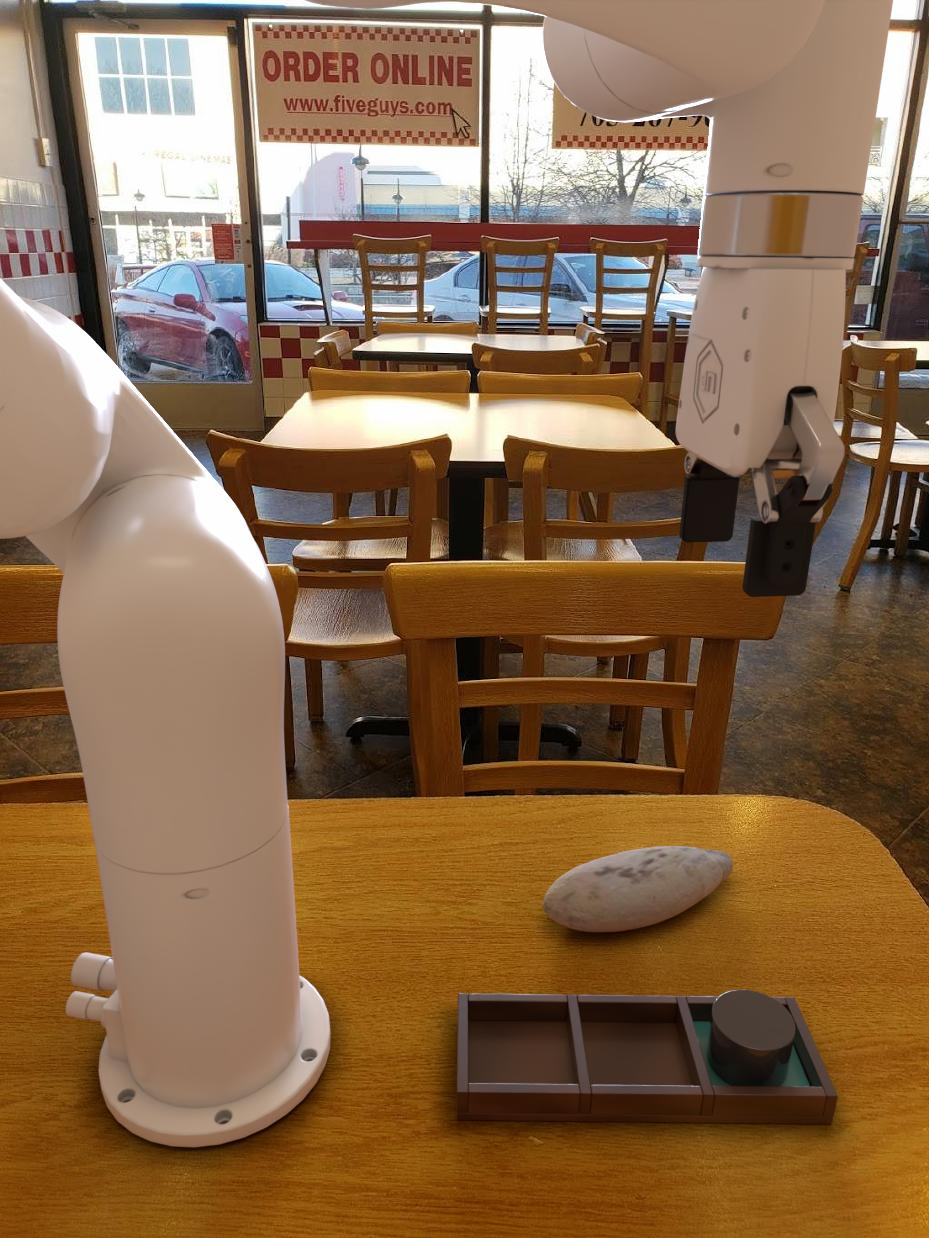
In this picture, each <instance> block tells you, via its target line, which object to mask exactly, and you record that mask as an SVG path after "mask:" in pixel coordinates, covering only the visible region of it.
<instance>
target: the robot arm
mask: <svg viewBox="0 0 929 1238" xmlns="http://www.w3.org/2000/svg"><path fill="white" fill-rule="evenodd" d="M305 1H306V2H307V3H308V2H309V3H312V4H315V5H321V6H327V7H336V8H346V9H362V10H364V9H365V10H377V9H378V10H379V9H388V8H398V7H404V6H414V5H423V4H434V3H436V4H437V3H439V4H440V3H461V4H462V3H463V4H475V5H485V6H494V7H501V8H505V9H511V10H516V11H523V12H526V13H530V14H534V15H538V16H543V17H544V18H543V21H542V22H543V23H542V35H541V37H542V51H543V57H544V61H545V64H546V65H545V66H546V68H547V70H548V72H549V75H550V78H551V79H552V81H553V82H554V84H555V86H556V88H557V89H558V90H559V92H560V93H561V94H562V95H563V96H564V98H565V99H567V100H568V101H569V102H570V104H572V105H573V106H575V107H576V108H577V109H578V110H581V111H582V112H584V113H585V114H588V115H591V116H593V117H595V118H598V119H601V120H605V121H609V122H619V123H634V122H643V121H652V120H659V119H668V118H680V117H693V116H703V117H706V118H707V119H709V120H710V121H709V132H708V134H709V135H708V143H707V145H708V146H707V155H706V164H705V165H706V167H705V168H706V169H705V176H704V177H705V178H704V189H703V198H702V208H701V215H700V217H701V220H700V227H699V228H700V229H699V239H698V247H697V248H698V249H697V255H698V256H697V258H696V268H702V269H701V270H702V271H701V274H700V277H699V282H698V286H697V290H696V294H695V298H694V302H693V308H692V312H691V319H690V323H689V328H688V329H689V330H688V335H687V336H688V337H687V342H686V349H685V356H684V361H683V369H682V377H681V383H680V390H679V399H678V406H677V414H676V423H675V437H676V440H677V442H678V443H679V445H680V446H681V447H682V448H683V449H685V451H687V453H686V456H685V458H684V465H683V467H684V472H685V474H686V475H684V482H683V483H684V484H683V492H682V493H683V494H682V502H681V503H682V504H681V513H680V522H679V523H680V525H679V533H678V534H679V538H680V539H681V540H682V541H683V542H684V543H718V542H719V543H720V542H721V543H722V542H723V543H724V542H725V543H726V542H729V541H731V540H732V538H733V535H734V527H735V519H736V510H737V503H738V495H739V487H740V478H741V476H743V475H744V474H746V473H747V472H748V470H749V469H750V470H751V475H752V482H753V486H754V493H755V497H756V504H757V508H758V513H759V518H750V523H749V532H748V538H747V539H748V540H747V547H746V556H745V564H744V571H743V580H742V591H743V593H744V594H746V595H747V596H748V597H751V598H764V597H765V598H766V597H797V596H802V595H803V594H804V593H805V592H806V590H807V583H808V577H809V570H810V563H811V558H812V551H813V544H814V538H815V531H816V525H817V524H818V523H819V522H820V521H821V520H822V518H823V515H824V505H825V504H826V502H827V501H828V500H829V499H830V497H831V495H832V493H833V486H834V485H833V482H834V480H835V478H836V475H837V473H838V472H839V469H840V467H841V465H842V463H843V460H844V458H845V454H846V447H845V445H844V442H843V440H842V439H841V437H840V435H839V434H838V431H836V429H835V427H834V424H835V417H836V411H837V403H838V397H839V387H840V379H841V369H842V368H841V367H842V359H843V357H842V356H843V348H844V335H845V333H844V332H845V320H846V319H845V318H846V293H847V291H846V287H847V286H846V285H847V278H846V277H847V270H848V271H849V270H851V271H852V270H853V269H854V262H855V255H856V249H857V243H858V237H859V231H860V230H859V229H860V223H861V216H862V209H863V204H864V197H863V196H864V194H865V189H866V183H867V175H868V171H869V170H868V169H869V162H870V156H871V152H872V151H871V149H872V143H873V138H874V137H873V136H874V131H875V125H876V118H877V111H878V106H879V105H878V104H879V96H880V91H881V84H882V78H883V71H884V66H885V65H884V63H885V58H886V52H887V43H888V37H889V30H890V24H891V17H892V11H893V5H894V0H305ZM776 480H777V481H778V480H787V482H786V483H785V484H784V486H783V487H782V488H781V489H780V491H779V492H778V490H777V486H776ZM22 537H25V538H26V539H27V540H28V541H30V543H32V544H33V545H34V547H36V548H37V549H38V551H40V552H41V553H42V554H43V555H44V556H45V557H46V558H47V559H48V560H49V561H50V562H51V563H53V565H55V567H56V568H58V569H59V570H60V572H62V573H63V576H62V579H61V580H62V581H61V585H60V592H59V598H58V607H57V622H56V623H57V625H56V626H57V627H56V632H57V633H56V634H57V635H56V636H57V653H58V662H59V669H60V675H61V676H60V677H61V681H62V686H63V690H64V694H65V695H64V696H65V699H66V703H67V708H68V712H69V716H70V720H71V724H72V729H73V733H74V737H75V741H76V745H77V750H78V754H79V760H80V766H81V770H82V776H83V783H84V788H85V794H86V801H87V808H88V814H89V820H90V826H91V833H92V839H93V842H94V847H95V854H96V859H97V867H98V872H99V879H100V885H101V892H102V899H103V906H104V911H105V919H106V925H107V932H108V938H109V944H110V950H111V951H110V952H111V956H109V955H103V954H98V953H92V952H86V951H85V952H81V953H80V954H79V955H78V956H77V957H76V959H75V961H74V963H73V964H72V968H71V972H70V982H71V984H72V986H74V987H77V988H78V987H79V988H84V989H89V990H94V991H100V992H105V991H108V992H113V993H112V994H111V995H110V996H109V997H104V996H99V995H98V994H96V993H95V994H94V993H89V992H85V991H79V990H75V991H73V992H72V993H70V995H69V997H68V999H67V1001H66V1005H65V1014H66V1016H67V1017H69V1018H70V1017H71V1018H74V1019H75V1018H76V1019H80V1020H84V1021H85V1020H86V1021H97V1022H100V1024H101V1027H103V1028H104V1029H105V1032H106V1034H105V1037H104V1040H103V1043H102V1046H101V1049H100V1052H99V1059H98V1060H99V1061H98V1078H99V1084H100V1090H101V1094H102V1097H103V1099H104V1102H105V1105H106V1108H107V1110H109V1112H110V1113H111V1114H112V1116H113V1117H114V1119H115V1120H116V1121H117V1122H118V1123H119V1124H120V1125H121V1126H123V1127H124V1128H125V1129H126V1130H128V1131H129V1132H130V1133H132V1134H133V1135H135V1136H138V1137H140V1138H142V1139H144V1140H147V1141H149V1142H152V1143H156V1144H160V1145H164V1146H169V1147H178V1148H179V1147H180V1148H203V1147H209V1146H218V1145H222V1144H226V1143H230V1142H233V1141H238V1140H240V1139H244V1138H246V1137H248V1136H251V1135H253V1134H255V1133H257V1132H259V1131H261V1130H264V1129H267V1128H269V1126H271V1125H272V1124H274V1123H275V1122H277V1121H279V1120H280V1119H282V1118H283V1117H285V1116H286V1115H288V1114H289V1113H290V1112H291V1111H292V1110H293V1109H295V1108H296V1106H298V1105H299V1104H300V1103H301V1102H302V1101H303V1100H304V1099H305V1098H306V1097H307V1095H308V1094H309V1093H310V1092H311V1090H312V1089H313V1088H314V1087H315V1086H316V1084H317V1083H318V1081H319V1079H320V1077H321V1075H322V1073H323V1071H324V1070H325V1067H326V1066H327V1065H326V1064H327V1061H328V1057H329V1054H330V1050H331V1025H330V1024H331V1021H330V1013H329V1011H328V1009H327V1005H326V1003H325V1000H324V998H323V997H322V996H321V994H320V993H319V991H318V990H317V988H316V987H315V986H314V985H313V984H311V982H309V980H307V979H306V978H305V977H303V976H302V975H300V962H299V948H298V947H299V946H298V929H297V914H296V901H295V900H296V899H295V883H294V869H293V853H292V837H291V836H292V835H291V824H290V822H291V821H290V808H289V807H290V806H289V801H288V786H287V769H286V751H285V749H286V747H285V685H286V684H285V683H286V645H285V632H284V623H283V617H282V616H283V615H282V612H281V607H280V602H279V598H278V594H277V590H276V587H275V584H274V580H273V578H272V575H271V572H270V569H269V568H268V566H267V563H266V561H265V559H264V556H263V554H262V552H261V549H260V548H259V545H258V543H257V542H256V541H255V539H254V537H253V535H252V533H251V530H250V528H249V526H248V524H247V521H246V520H245V518H244V517H243V513H241V511H240V509H239V508H238V506H237V505H236V503H235V502H234V501H233V500H232V498H231V497H230V496H229V495H228V493H227V492H226V491H225V489H224V488H223V487H222V486H221V485H220V484H219V482H218V481H217V480H216V479H215V478H214V477H213V476H212V475H211V473H210V472H209V471H208V470H207V469H206V468H205V467H204V465H203V464H202V463H201V462H200V461H199V460H198V459H197V457H196V456H195V455H194V454H193V452H192V451H191V450H190V449H189V448H188V447H187V446H186V445H185V443H184V442H183V441H182V440H181V438H179V437H178V435H177V434H176V433H175V432H174V431H173V429H172V428H171V427H170V426H169V425H168V424H167V423H166V421H165V420H164V419H163V417H161V415H160V414H159V413H158V412H157V411H156V410H155V408H153V406H152V405H151V404H150V403H149V402H148V401H147V400H146V398H145V397H144V395H142V394H141V393H140V391H139V390H138V389H137V388H136V386H135V385H134V384H133V383H132V382H131V381H130V380H129V378H128V377H127V376H126V375H125V374H124V372H123V371H122V370H121V369H120V368H119V367H118V365H116V363H115V362H114V361H113V360H112V358H110V357H109V355H108V354H107V353H106V351H104V350H103V349H102V348H101V346H99V344H97V343H96V341H95V340H94V339H93V338H92V337H91V336H90V335H89V334H88V333H87V332H86V331H85V330H84V329H82V328H81V327H80V326H79V325H78V324H77V323H76V322H74V321H73V320H72V319H70V318H69V317H67V315H64V314H63V313H61V312H60V311H58V310H56V309H55V308H53V307H50V306H49V305H46V304H44V303H41V302H40V301H37V300H34V299H31V298H27V297H24V296H19V295H18V294H16V293H15V291H14V290H13V289H12V288H11V287H10V286H9V285H7V284H6V282H5V281H4V280H3V279H2V278H1V277H0V539H1V540H4V539H7V540H8V539H16V538H17V539H18V538H22Z"/></svg>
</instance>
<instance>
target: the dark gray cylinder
mask: <svg viewBox="0 0 929 1238" xmlns="http://www.w3.org/2000/svg"><path fill="white" fill-rule="evenodd" d="M772 997H773V996H769V995H768V994H766V993H763V992H760V991H756V990H752V989H733V990H729V991H726V992H724V993H722V994H720V995H719V997H718V998H717V999H716V1001H715V1002H714V1004H713V1007H712V1013H711V1020H710V1027H709V1035H708V1042H707V1050H706V1054H707V1059H708V1062H709V1064H710V1066H711V1068H712V1069H713V1071H714V1072H715V1073H716V1074H717V1075H718V1076H719V1077H720V1078H721V1079H722V1080H723V1081H725V1082H726V1083H728V1084H729V1085H731V1086H778V1087H779V1086H781V1085H782V1084H783V1083H784V1081H785V1080H786V1078H787V1075H788V1069H789V1064H790V1058H791V1053H792V1047H793V1042H794V1036H795V1023H794V1020H793V1018H792V1016H791V1014H790V1013H789V1011H788V1010H787V1009H786V1008H785V1007H784V1006H783V1005H782V1004H781V1003H779V1002H778V1001H777V1000H775V999H773V998H772Z"/></svg>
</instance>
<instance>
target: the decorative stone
mask: <svg viewBox="0 0 929 1238" xmlns="http://www.w3.org/2000/svg"><path fill="white" fill-rule="evenodd" d="M733 868H734V862H733V859H732V856H730V854H728V853H726V852H725V851H722V850H715V849H711V848H710V849H709V848H707V849H703V848H702V847H701V848H700V847H697V846H693V847H692V846H684V845H666V846H665V845H661V846H652V847H651V846H650V847H643V848H635V849H631V850H630V849H629V850H625V851H619V852H618V853H614V854H610V855H607V856H602V857H599V858H596V859H593V860H590V861H587V862H585V863H582V864H580V865H577V866H575V867H574V868H571V869H570V870H568V871H567V872H564V873H563V874H562V875H561V876H559V877H558V878H557V879H555V880H554V881H553V882H552V885H550V887H549V888H548V889H547V891H546V893H545V895H544V897H543V899H542V906H541V907H542V909H543V911H544V913H545V914H546V916H548V917H549V918H550V919H551V920H553V921H554V922H555V923H557V924H559V925H561V926H564V927H566V928H569V929H571V930H574V931H578V932H585V933H616V932H625V931H632V930H636V929H640V928H645V927H650V926H653V925H657V924H659V923H661V922H664V921H666V920H669V919H671V918H674V917H675V916H677V915H680V914H681V913H683V912H685V911H686V910H688V909H691V908H692V907H693V906H695V905H696V904H698V903H699V902H700V901H702V900H703V899H704V898H706V897H707V896H709V895H710V894H712V892H713V891H715V890H716V889H717V888H718V887H719V886H720V885H721V883H722V882H724V881H725V880H727V878H729V877H730V876H731V875H732V873H733V870H734V869H733Z"/></svg>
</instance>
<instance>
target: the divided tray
mask: <svg viewBox="0 0 929 1238" xmlns="http://www.w3.org/2000/svg"><path fill="white" fill-rule="evenodd" d="M719 996H720V995H719ZM719 996H718V995H716V996H715V995H714V996H713V995H702V996H701V995H686V996H685V995H633V994H632V995H628V994H627V995H624V994H549V993H548V994H547V993H546V994H543V993H541V994H538V993H533V994H531V993H467V992H466V993H460V992H459V993H458V994H457V1022H456V1023H457V1025H456V1026H457V1027H456V1028H457V1030H456V1031H457V1035H456V1037H457V1039H456V1107H455V1108H456V1113H455V1114H456V1115H455V1116H456V1117H455V1119H456V1121H511V1122H514V1121H523V1122H525V1121H527V1122H601V1123H602V1122H603V1123H604V1122H605V1123H606V1122H607V1123H609V1122H611V1123H612V1122H613V1123H622V1122H623V1123H689V1124H690V1123H692V1124H693V1123H697V1124H699V1123H700V1124H702V1123H704V1124H710V1123H711V1124H781V1125H782V1124H784V1125H785V1124H786V1125H789V1124H794V1125H795V1124H796V1125H833V1122H834V1117H835V1112H836V1108H837V1103H838V1098H839V1095H838V1092H837V1090H836V1088H835V1086H834V1084H833V1082H832V1079H831V1077H830V1075H829V1072H828V1070H827V1068H826V1065H825V1063H824V1061H823V1059H822V1057H821V1054H820V1051H819V1050H818V1048H817V1045H816V1043H815V1041H814V1038H813V1037H812V1034H811V1032H810V1029H809V1027H808V1025H807V1023H806V1021H805V1018H804V1016H803V1014H802V1011H801V1009H800V1006H799V1004H798V1002H797V1000H796V998H795V996H771V997H772V998H773V999H775V1000H777V1001H778V1002H779V1003H781V1004H782V1005H783V1006H784V1007H785V1008H786V1009H787V1010H788V1011H789V1013H790V1014H791V1016H792V1018H793V1020H794V1023H795V1036H794V1042H793V1047H792V1053H791V1058H790V1064H789V1069H788V1075H787V1078H786V1080H785V1081H784V1083H783V1084H782V1085H781V1086H779V1087H778V1086H731V1085H729V1084H728V1083H726V1082H725V1081H723V1080H722V1079H721V1078H720V1077H719V1076H718V1075H717V1074H716V1073H715V1072H714V1071H713V1069H712V1068H711V1066H710V1064H709V1062H708V1059H707V1054H706V1050H707V1042H708V1035H709V1027H710V1020H711V1013H712V1007H713V1004H714V1002H715V1001H716V999H717V998H718V997H719Z"/></svg>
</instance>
